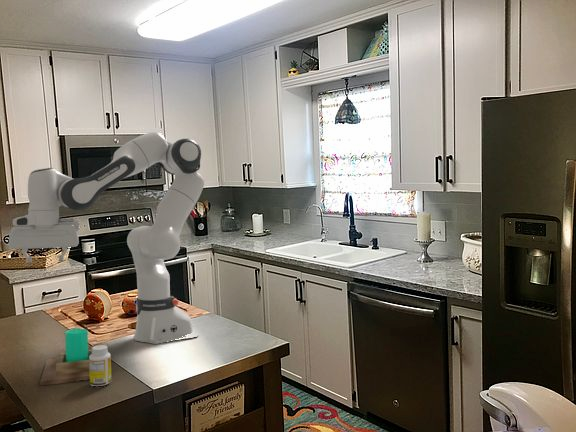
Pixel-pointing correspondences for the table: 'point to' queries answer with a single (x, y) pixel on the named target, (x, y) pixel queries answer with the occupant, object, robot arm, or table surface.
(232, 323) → the table surface
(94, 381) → the supplement bottle
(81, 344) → the candle
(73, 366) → the candle holder
